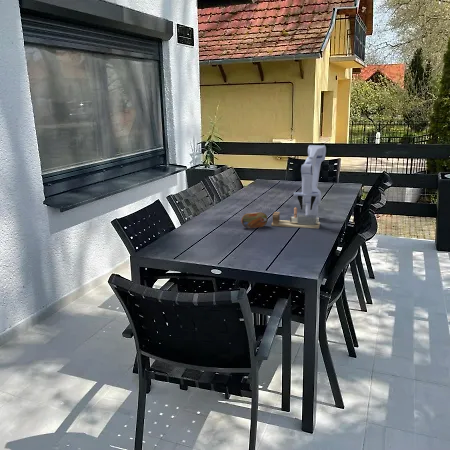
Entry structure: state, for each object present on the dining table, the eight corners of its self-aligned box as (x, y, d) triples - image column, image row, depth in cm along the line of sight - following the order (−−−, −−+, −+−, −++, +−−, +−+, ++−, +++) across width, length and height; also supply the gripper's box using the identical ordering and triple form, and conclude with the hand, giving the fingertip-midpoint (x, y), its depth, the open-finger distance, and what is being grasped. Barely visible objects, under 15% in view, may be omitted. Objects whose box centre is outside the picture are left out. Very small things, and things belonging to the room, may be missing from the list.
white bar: (290, 220, 266) (290, 206, 264) (318, 221, 262) (319, 207, 260) (289, 221, 263) (290, 207, 261) (318, 223, 259) (318, 209, 257)
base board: (273, 221, 272) (273, 219, 272) (319, 223, 266) (319, 222, 266) (271, 225, 263) (271, 224, 263) (318, 228, 256) (318, 226, 256)
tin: (242, 229, 258) (242, 214, 256) (240, 227, 261) (240, 213, 259) (267, 226, 262) (267, 212, 260) (265, 225, 265) (266, 211, 263)
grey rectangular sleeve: (298, 222, 266) (298, 214, 265) (316, 223, 264) (316, 215, 263) (297, 224, 261) (297, 216, 260) (315, 225, 259) (315, 217, 258)
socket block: (274, 220, 271) (274, 211, 269) (279, 220, 270) (279, 212, 268) (272, 223, 264) (272, 214, 263) (277, 223, 263) (277, 215, 262)
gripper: (293, 186, 255) (292, 210, 259) (320, 187, 251) (319, 211, 255) (294, 184, 261) (294, 207, 265) (320, 184, 258) (319, 208, 262)
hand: (306, 209), depth 260 cm, fingers open, 5 cm apart
